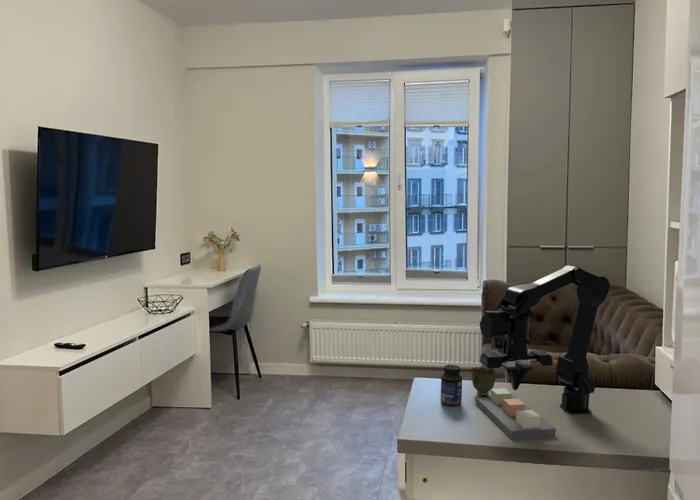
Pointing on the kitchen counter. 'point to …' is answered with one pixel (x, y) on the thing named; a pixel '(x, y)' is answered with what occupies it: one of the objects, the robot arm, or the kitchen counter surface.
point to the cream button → (527, 419)
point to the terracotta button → (512, 406)
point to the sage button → (499, 395)
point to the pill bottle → (451, 386)
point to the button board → (513, 421)
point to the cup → (483, 380)
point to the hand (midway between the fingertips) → (514, 389)
